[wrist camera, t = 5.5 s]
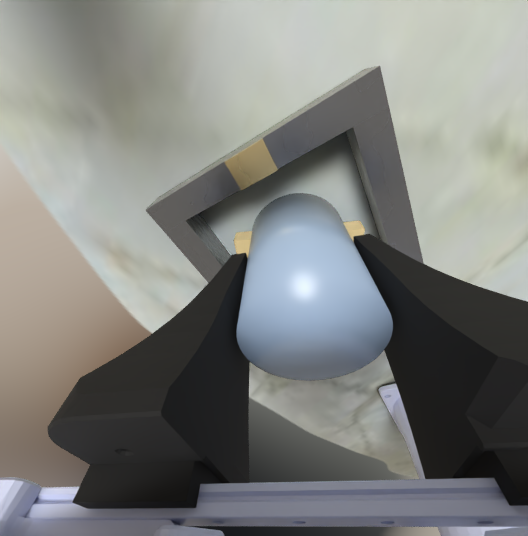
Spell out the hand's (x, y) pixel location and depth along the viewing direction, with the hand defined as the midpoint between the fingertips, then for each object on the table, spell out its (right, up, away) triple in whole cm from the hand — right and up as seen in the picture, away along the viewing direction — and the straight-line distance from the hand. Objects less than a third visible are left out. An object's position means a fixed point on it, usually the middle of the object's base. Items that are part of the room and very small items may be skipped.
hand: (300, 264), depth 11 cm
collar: (0, +2, +2) cm, 3 cm away
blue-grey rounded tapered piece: (0, +1, +1) cm, 2 cm away
